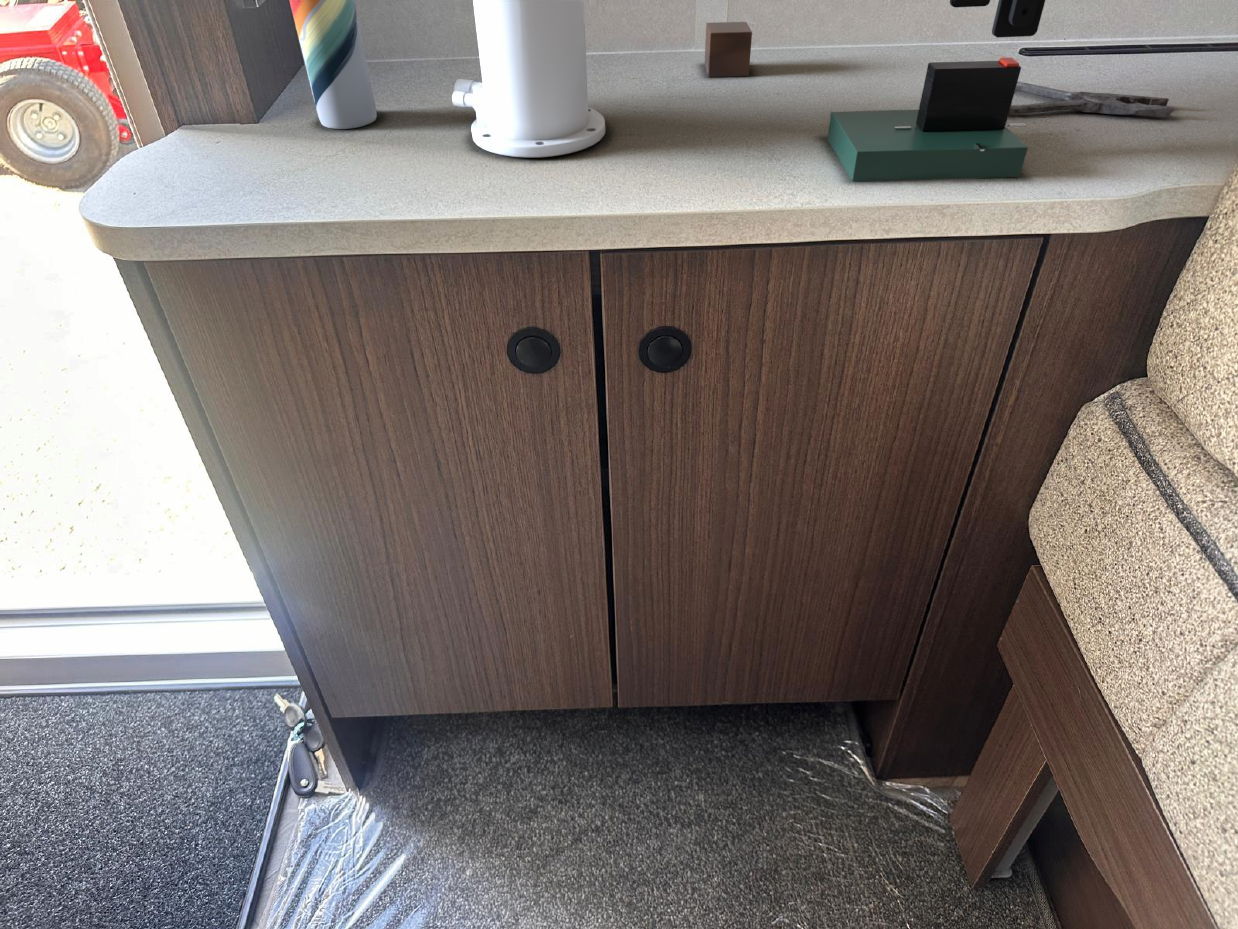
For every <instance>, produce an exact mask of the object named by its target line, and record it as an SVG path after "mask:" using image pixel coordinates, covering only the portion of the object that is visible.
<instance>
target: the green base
mask: <svg viewBox="0 0 1238 929" xmlns="http://www.w3.org/2000/svg"><path fill="white" fill-rule="evenodd" d="M918 111H919V109H887V110H886V109H885V110H850V111H849V110H848V111H847V110H845V111H844V110H843V111H831V112H830V115H829V116H830V117H829V124H828V131H827V138H826V140H827V141H828V143H829V145H830V147H831V148H832V150H833V151H834V153H835V155H836V156H837V158H838V160H839V162H840V163H841V165H842V167H843V168H844V171H845V172H846V174H847V175H848V177H849V178H850V181H851V182H882V181H886V182H887V181H917V180H918V181H919V180H920V181H921V180H958V179H959V180H960V179H961V180H962V179H963V180H964V179H995V178H996V179H997V178H999V179H1000V178H1020V177H1021V172H1022V169H1023V166H1024V162H1025V159H1026V156H1027V152H1028V150H1029V147H1028V146H1027V145H1026V144H1025V143H1024V142H1023V141H1022V140H1021V139H1019V137H1017V135H1015V134H1014V133H1013V132H1012V131H1011V130H1010V129H1009V128H1017V127H1018V128H1021V127H1022V128H1023V127H1026V123H1022V122H1021V123H1020V122H1019V123H1007V126H1005V129H1004V130H970V131H932V132H922V130H921V129H920V128H919V127H918V126H917V125H916V121H917V116H918ZM1008 127H1009V128H1008Z"/></svg>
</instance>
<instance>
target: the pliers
mask: <svg viewBox="0 0 1238 929" xmlns="http://www.w3.org/2000/svg"><path fill="white" fill-rule="evenodd" d="M1015 91H1019V92H1023V93H1028V94H1033V95H1036V96H1041V97H1046V98H1049V99H1055V101H1046V102H1037V103H1027V104H1011V107H1010V111H1009V114H1008V115H1024V114H1025V115H1026V114H1036V113H1046V112H1047V113H1048V112H1059V111H1061V112H1062V111H1074V112H1075V111H1076V112H1082V113H1098V114H1106V115H1121V116H1139V117H1155V118H1156V117H1158V118H1170V117H1171V114H1172V112H1173V109H1174V107H1173V106H1167V105H1168V103H1169V101H1170V98H1168V97H1156V96H1143V95H1133V94H1121V93H1111V92H1090V91H1089V92H1088V91H1067V90H1062V89H1057V88H1052V87H1047V86H1043V85H1037V84H1033V83H1028V82H1024V81H1019V80H1018V81H1017V85H1016V89H1015ZM1056 100H1057V101H1056Z"/></svg>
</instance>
